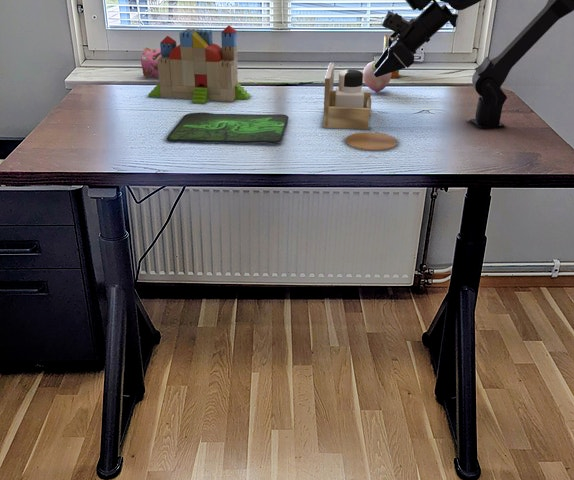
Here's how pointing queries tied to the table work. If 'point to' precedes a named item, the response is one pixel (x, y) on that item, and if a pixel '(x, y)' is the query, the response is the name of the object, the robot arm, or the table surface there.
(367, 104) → the spice rack
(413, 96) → the table surface
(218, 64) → the block set
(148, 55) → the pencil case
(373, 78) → the decorative fruit
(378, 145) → the cork coaster
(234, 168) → the table surface
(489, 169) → the table surface
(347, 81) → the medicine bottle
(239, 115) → the mouse mat
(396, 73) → the shoe polish box
